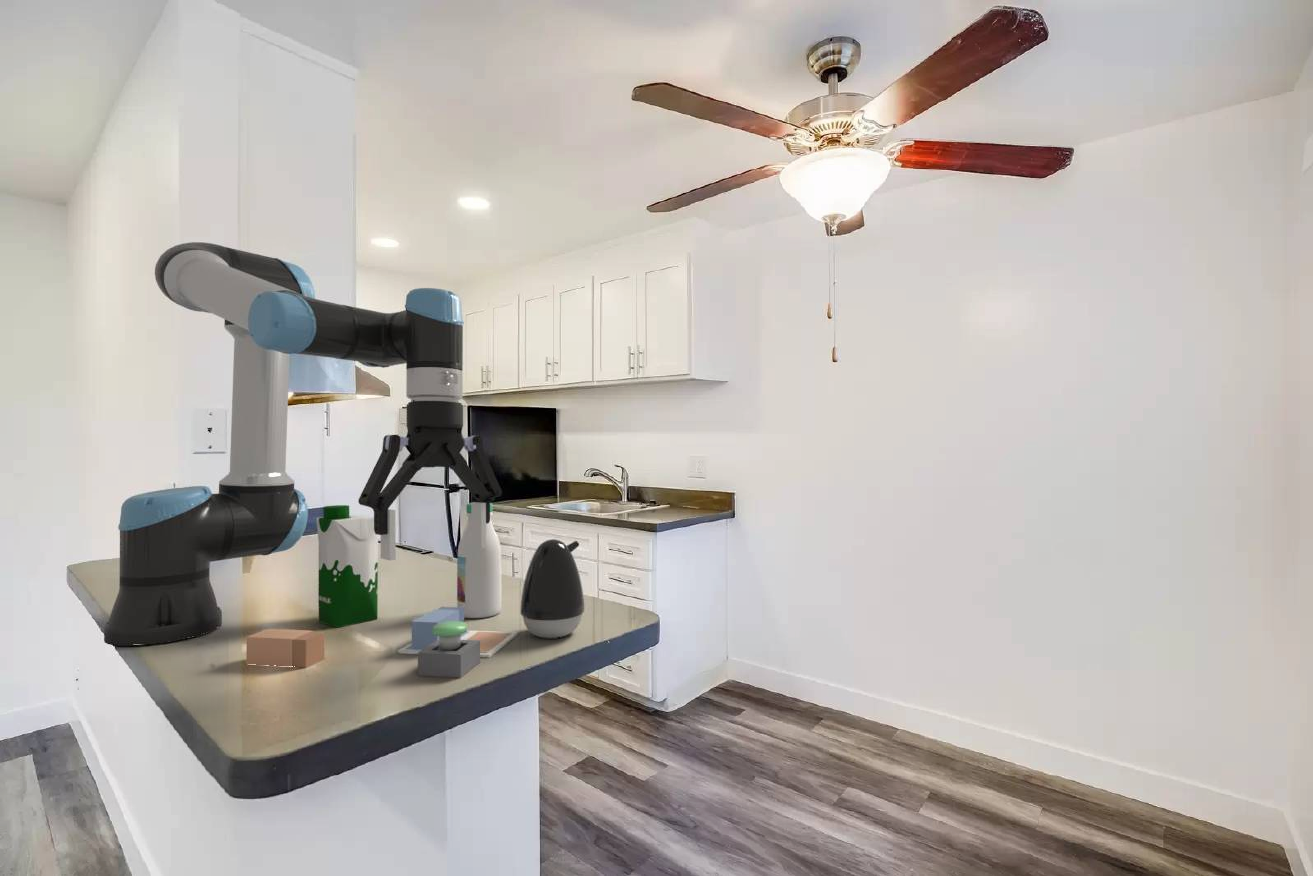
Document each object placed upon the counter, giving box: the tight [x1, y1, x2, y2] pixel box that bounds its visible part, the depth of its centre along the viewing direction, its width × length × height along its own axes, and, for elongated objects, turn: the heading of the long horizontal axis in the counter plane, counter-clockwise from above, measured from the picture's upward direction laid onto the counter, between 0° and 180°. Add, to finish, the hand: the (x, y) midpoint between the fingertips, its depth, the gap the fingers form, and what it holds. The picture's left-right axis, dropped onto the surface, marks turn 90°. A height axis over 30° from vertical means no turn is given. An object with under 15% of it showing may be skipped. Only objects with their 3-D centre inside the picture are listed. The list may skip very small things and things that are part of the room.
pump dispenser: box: [519, 539, 585, 639], centre depth 102 cm, size 10×10×15 cm
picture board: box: [397, 629, 518, 659], centre depth 96 cm, size 14×11×1 cm
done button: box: [433, 621, 468, 650], centre depth 86 cm, size 4×4×3 cm
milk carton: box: [315, 504, 379, 628], centre depth 110 cm, size 9×9×20 cm
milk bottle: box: [456, 502, 502, 619], centre depth 114 cm, size 8×8×20 cm
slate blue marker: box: [411, 606, 465, 649], centre depth 97 cm, size 9×4×4 cm, turn 172°
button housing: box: [417, 640, 481, 679], centre depth 86 cm, size 6×6×3 cm
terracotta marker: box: [245, 628, 326, 669], centre depth 89 cm, size 9×4×4 cm, turn 82°
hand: (435, 552), depth 88 cm, fingers open, 13 cm apart
